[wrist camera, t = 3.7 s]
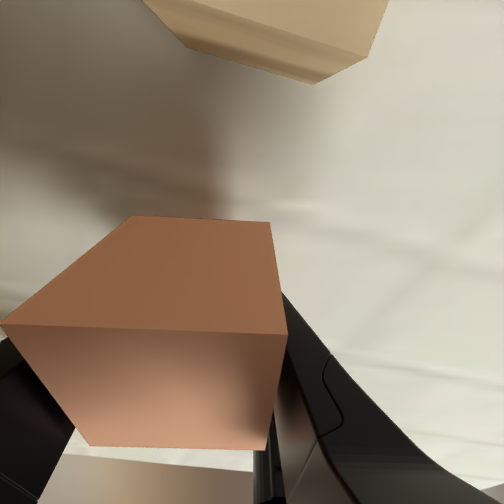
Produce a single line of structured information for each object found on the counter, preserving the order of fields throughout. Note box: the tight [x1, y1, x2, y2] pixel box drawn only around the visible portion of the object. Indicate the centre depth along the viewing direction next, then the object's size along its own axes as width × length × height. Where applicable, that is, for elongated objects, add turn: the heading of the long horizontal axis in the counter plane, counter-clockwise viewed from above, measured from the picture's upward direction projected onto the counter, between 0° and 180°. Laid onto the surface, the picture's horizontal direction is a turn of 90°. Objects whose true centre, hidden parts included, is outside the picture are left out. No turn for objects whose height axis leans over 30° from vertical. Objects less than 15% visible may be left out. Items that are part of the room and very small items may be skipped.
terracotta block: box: [0, 215, 288, 450], centre depth 7 cm, size 5×5×5 cm
